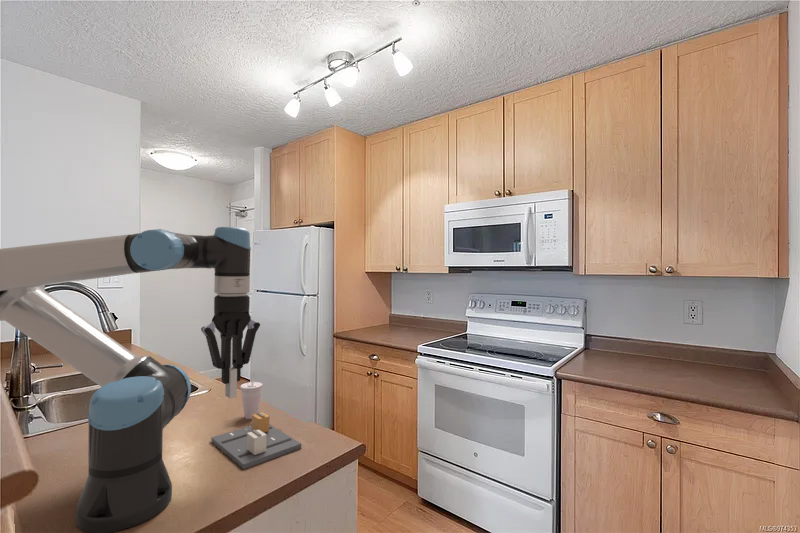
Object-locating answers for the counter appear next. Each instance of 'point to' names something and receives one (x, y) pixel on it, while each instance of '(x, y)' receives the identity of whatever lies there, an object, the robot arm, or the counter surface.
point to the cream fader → (256, 442)
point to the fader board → (237, 451)
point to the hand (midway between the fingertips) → (230, 396)
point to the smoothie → (251, 397)
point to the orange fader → (260, 422)
